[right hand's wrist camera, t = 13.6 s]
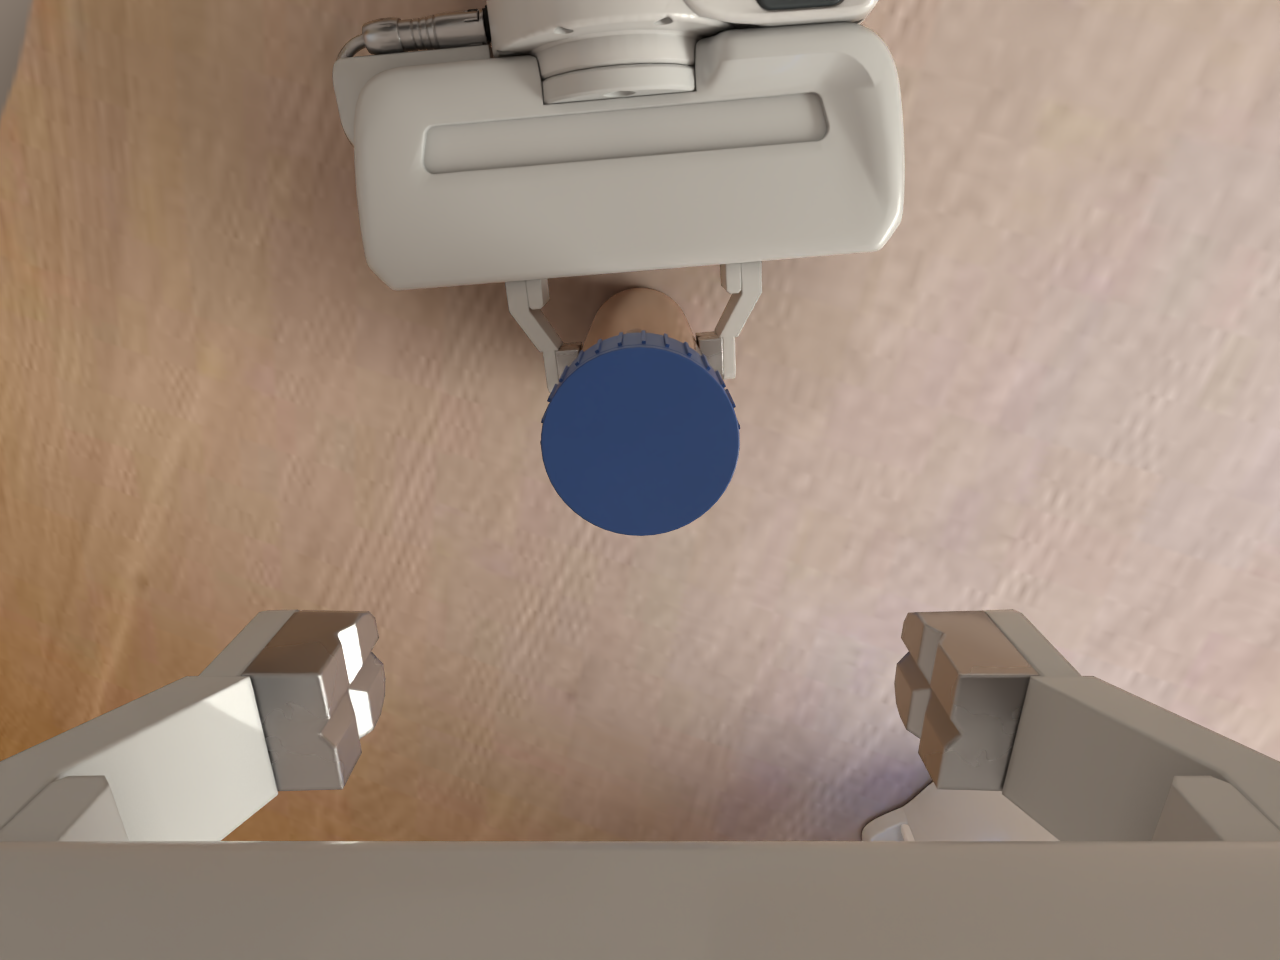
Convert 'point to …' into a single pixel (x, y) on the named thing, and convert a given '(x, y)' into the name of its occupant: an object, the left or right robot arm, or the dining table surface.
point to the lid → (640, 434)
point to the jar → (640, 317)
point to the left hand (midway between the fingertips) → (642, 383)
